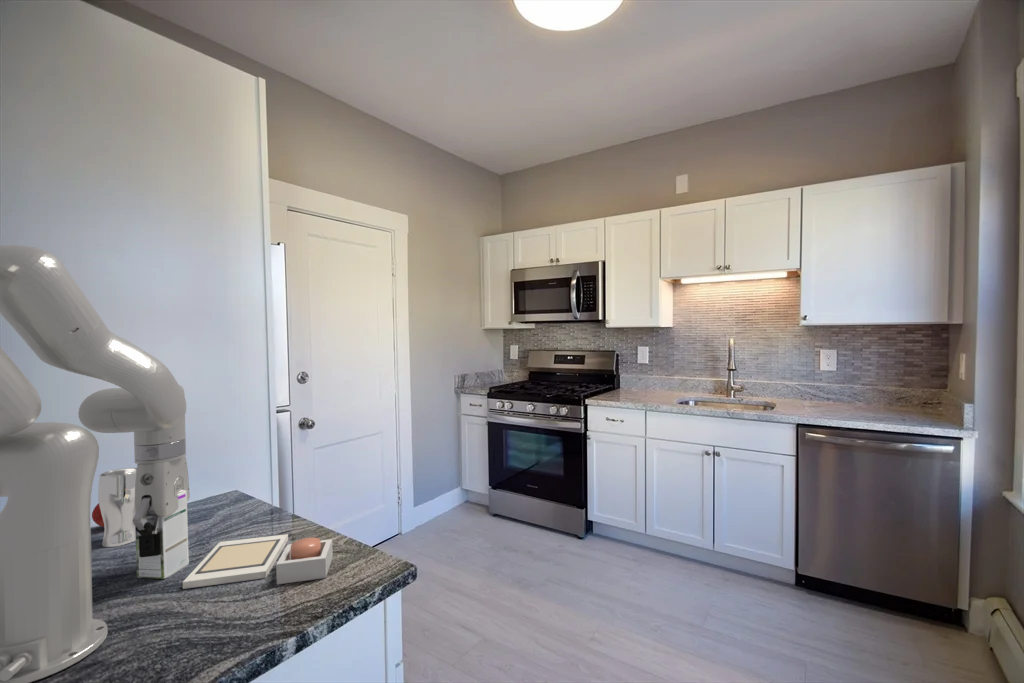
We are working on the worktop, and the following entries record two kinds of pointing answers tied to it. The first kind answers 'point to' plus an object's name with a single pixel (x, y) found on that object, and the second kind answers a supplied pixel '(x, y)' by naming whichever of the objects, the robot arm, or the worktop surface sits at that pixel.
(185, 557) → the syrup box
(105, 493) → the beer glass
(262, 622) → the worktop surface
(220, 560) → the picture board
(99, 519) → the onion
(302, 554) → the button
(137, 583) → the worktop surface
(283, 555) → the button housing
